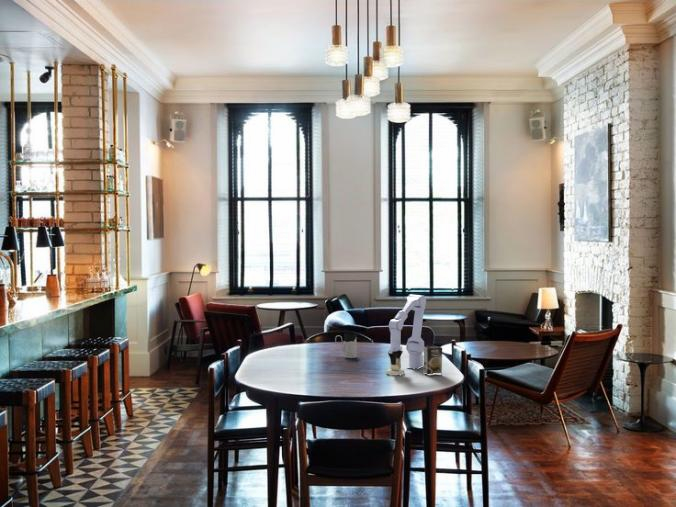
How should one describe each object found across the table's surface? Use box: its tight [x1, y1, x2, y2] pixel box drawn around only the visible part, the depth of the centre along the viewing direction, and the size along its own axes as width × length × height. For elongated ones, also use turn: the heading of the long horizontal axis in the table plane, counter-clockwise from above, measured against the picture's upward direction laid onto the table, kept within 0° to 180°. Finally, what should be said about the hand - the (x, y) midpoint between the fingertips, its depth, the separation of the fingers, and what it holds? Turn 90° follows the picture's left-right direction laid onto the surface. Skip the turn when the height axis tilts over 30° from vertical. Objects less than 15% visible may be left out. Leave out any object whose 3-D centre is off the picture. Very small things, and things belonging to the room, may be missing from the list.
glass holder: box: [334, 332, 358, 359], centre depth 434 cm, size 9×14×15 cm, turn 89°
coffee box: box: [422, 345, 443, 374], centre depth 384 cm, size 9×6×16 cm
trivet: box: [385, 368, 405, 376], centre depth 385 cm, size 8×8×3 cm
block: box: [389, 357, 402, 370], centre depth 385 cm, size 4×4×6 cm
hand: (395, 363), depth 385 cm, fingers closed on block, 4 cm apart
